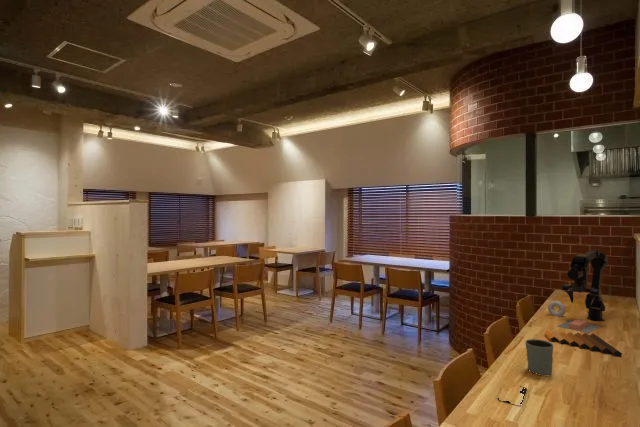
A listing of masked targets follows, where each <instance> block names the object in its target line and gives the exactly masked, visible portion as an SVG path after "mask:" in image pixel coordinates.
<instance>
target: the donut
mask: <svg viewBox="0 0 640 427" xmlns="http://www.w3.org/2000/svg"><path fill="white" fill-rule="evenodd" d="M555 307H557V308H559V310H558V311H557V310H555ZM547 310H548V312H549V314H550V315H552V316H554V317H562V316H564V315H565V314H566V312H567V308H566V306H565V304H564V303H563V302H561V301H559V300H551V301H550V302H549V303H548V305H547Z"/></svg>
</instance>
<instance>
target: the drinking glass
mask: <svg viewBox="0 0 640 427" xmlns="http://www.w3.org/2000/svg"><path fill="white" fill-rule="evenodd" d="M525 349H526V359H527V368H528V369H529V370H530V371H531V372H534V373H537V374H540V375H539V376H541V375H549V376H551V375H552V373H553V359H554V357H553V354H554V344H553V342H551V341H547V340H542V339H536V338H535V339H534V338H533V339H527V340H525ZM528 369H527V370H528ZM529 370H528V371H529ZM530 371H529V372H530ZM531 372H530V373H531Z"/></svg>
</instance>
